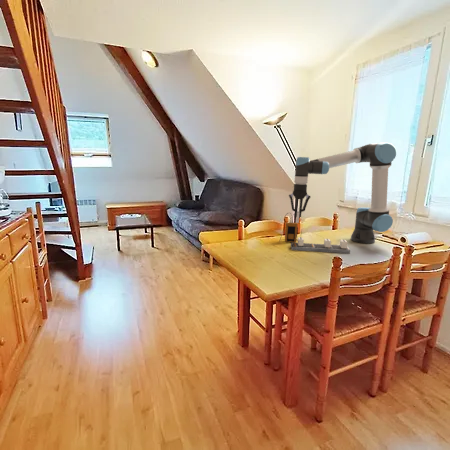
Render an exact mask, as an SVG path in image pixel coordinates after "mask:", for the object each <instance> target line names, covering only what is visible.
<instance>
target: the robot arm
mask: <svg viewBox="0 0 450 450" xmlns="http://www.w3.org/2000/svg"><path fill="white" fill-rule="evenodd" d="M396 157H397V149H396V147H395V145H393V143H390V142H376V143H375V142H372V143H368V144H365V145H362V146H359V147H355V148H354V149H353V150H350V151H346V152H342V153H341V152H340V153H337V154H336V153H335V154H333V155H327V156H325V157H319V158H317V159H312V160H311V158H310V157H309V156H307V157H306V156H298V157H297V158H296V160H295V170H294V182H293V183H294V184H293V191H292V193H290V194H288V197H289V200H290V205H291V211H293V212H294V214H293V217H294V218H295V223H297V224H300V222H299V221H300V218H301V217H302V213H304V212H305V211H306V208H307V206H308V202H309V200H310V199H311V195H309V194H308V192H307V189H308V181H309V180H308V179H309V178H308V177H309V175H310V174H311V175H314V174H315V175H327V174H328V173H329V171H330V169H332V168H336V167H340V166H346V165H349V164H353V163H355V164H360V163H369V167H370V168H371V170H372V171H371V174H372V175H371V200H370V201H371V202H370V203H371V205H370V207H358V208H356V209H357V210H356V212H355V214H356V215H355V224H354V230H353V231H352V233H351V235H350V240H351V241H352V242H355V243H360V244H374V243H375V242H376V236H375V233H374V231H375V232H379V233H384V232H387V231H388V230H389V229H390V228H392V227H393V224H394V219H393V217H392V216H391V215H390V208H388V206H387V205H388V204H387V203H388V185H389V184H388V181H389V168H390V167H391V166H392V162H393V161H394V159H396ZM293 198H294V199H295V204H294V201H293V200H294V199H293ZM304 199H305V201H304V204H303V200H304ZM298 206H299V208H298Z"/></svg>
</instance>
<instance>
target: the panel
mask: <svg viewBox="0 0 450 450" xmlns="http://www.w3.org/2000/svg"><path fill="white" fill-rule="evenodd" d="M290 248H291V251H298V252H299V251H300V252H317V253H334V254H351V249H350V248H349V247H348V246H347V249H346V248H341V247H340V244H331V246H330V248H329V247H325V246H324V243H323V244H322V243H307V242H304V243H303V246H298V242H290Z"/></svg>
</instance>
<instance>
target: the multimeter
mask: <svg viewBox="0 0 450 450" xmlns="http://www.w3.org/2000/svg"><path fill="white" fill-rule="evenodd" d="M288 214H290V215H292V212H287V213H286V214H285V216H284V220H283V221H284V225H283V226H284V227H283V230H282V233H281V235H280V239H279V240H282V239H281V238H282V236H283V233H284V242H285V243H291V242H293V243H297V241H298V231H299V228H298V223H296V222H294V218H291V220H290V222H288V221H287V222H286V221H285V220H286V219H285V218H286V217H287V215H288ZM300 218H301V220H303V219H302V218H303V217H302V216H301V217H300ZM301 234H303V230H301Z"/></svg>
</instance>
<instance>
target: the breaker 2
mask: <svg viewBox="0 0 450 450" xmlns="http://www.w3.org/2000/svg"><path fill="white" fill-rule="evenodd" d="M323 244H324V246H325V247H329V248H330V246H331V245H332V241H331V239H330V238H324V239H323Z"/></svg>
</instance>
